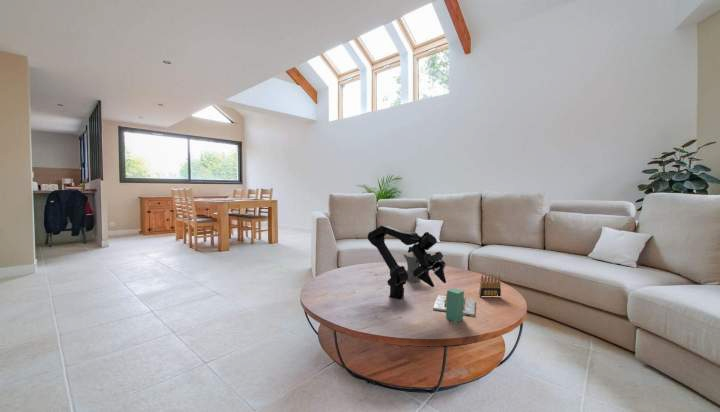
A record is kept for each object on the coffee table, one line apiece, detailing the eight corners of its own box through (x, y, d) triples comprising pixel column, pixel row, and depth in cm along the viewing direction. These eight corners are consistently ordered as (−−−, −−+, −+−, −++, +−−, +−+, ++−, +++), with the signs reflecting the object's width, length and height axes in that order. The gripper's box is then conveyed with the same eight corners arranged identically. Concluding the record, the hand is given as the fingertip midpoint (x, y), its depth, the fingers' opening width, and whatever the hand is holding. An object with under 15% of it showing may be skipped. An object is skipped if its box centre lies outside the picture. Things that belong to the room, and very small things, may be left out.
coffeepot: (400, 280, 183) (400, 251, 182) (405, 276, 191) (405, 248, 190) (424, 284, 176) (426, 254, 175) (429, 280, 184) (430, 251, 183)
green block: (446, 318, 131) (447, 290, 130) (452, 315, 134) (453, 287, 134) (456, 322, 127) (457, 293, 126) (462, 319, 131) (463, 291, 130)
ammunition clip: (480, 297, 157) (481, 275, 156) (478, 296, 159) (479, 273, 158) (500, 297, 157) (502, 275, 156) (499, 296, 159) (500, 274, 158)
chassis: (433, 309, 140) (433, 302, 140) (438, 296, 157) (438, 290, 157) (474, 316, 133) (474, 308, 133) (475, 302, 150) (475, 295, 150)
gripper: (419, 248, 132) (439, 280, 125) (443, 243, 144) (462, 272, 137) (404, 261, 139) (422, 292, 132) (429, 256, 151) (446, 283, 144)
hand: (439, 284), depth 136 cm, fingers open, 9 cm apart
